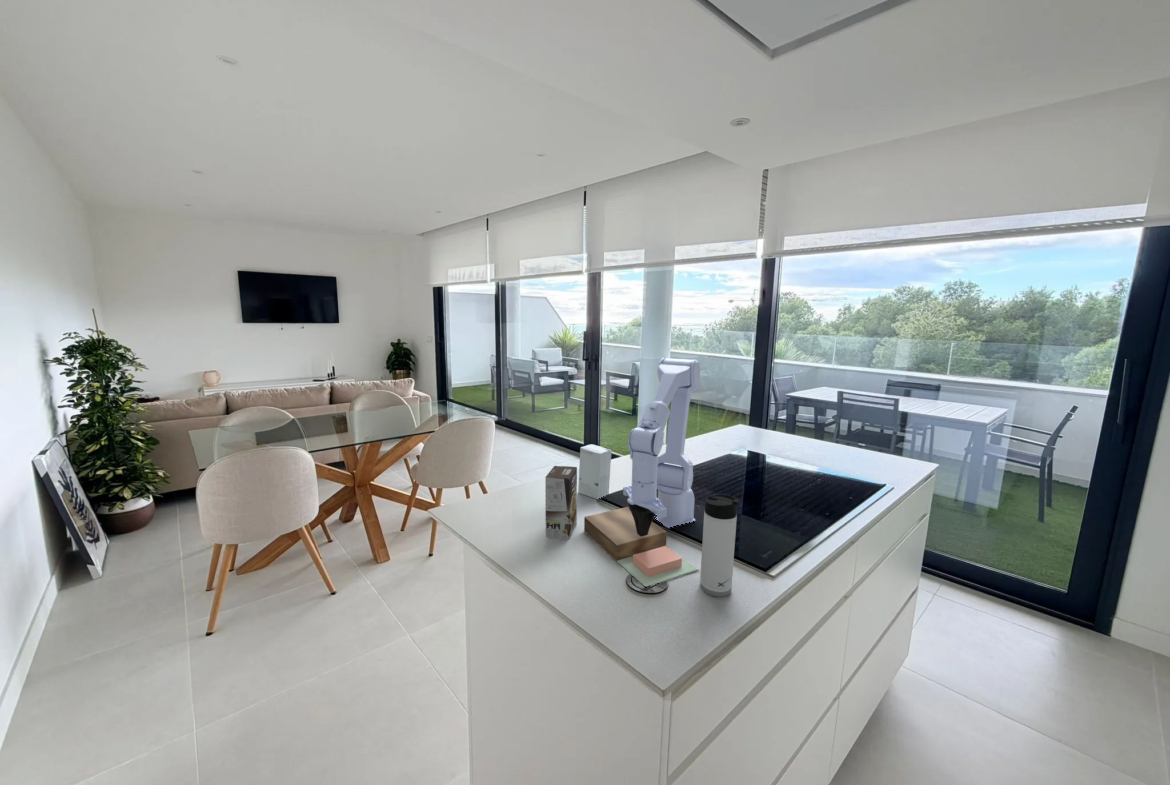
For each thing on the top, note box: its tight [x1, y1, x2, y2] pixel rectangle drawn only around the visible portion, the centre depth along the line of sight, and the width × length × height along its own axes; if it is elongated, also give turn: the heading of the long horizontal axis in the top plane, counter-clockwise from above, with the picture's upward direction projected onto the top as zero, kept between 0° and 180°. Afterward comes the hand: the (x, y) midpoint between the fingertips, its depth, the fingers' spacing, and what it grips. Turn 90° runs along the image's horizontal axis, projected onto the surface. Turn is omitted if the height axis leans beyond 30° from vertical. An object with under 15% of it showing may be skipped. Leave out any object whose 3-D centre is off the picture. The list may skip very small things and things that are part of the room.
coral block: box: [633, 545, 682, 577], centre depth 102 cm, size 9×6×2 cm, turn 117°
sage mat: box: [617, 545, 699, 586], centre depth 102 cm, size 14×11×1 cm
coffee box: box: [544, 465, 578, 541], centre depth 117 cm, size 9×6×16 cm
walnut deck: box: [583, 506, 668, 562], centre depth 114 cm, size 14×16×4 cm
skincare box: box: [577, 444, 612, 500], centre depth 140 cm, size 8×6×15 cm
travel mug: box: [699, 494, 741, 598], centre depth 93 cm, size 6×7×20 cm
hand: (642, 534), depth 106 cm, fingers closed
